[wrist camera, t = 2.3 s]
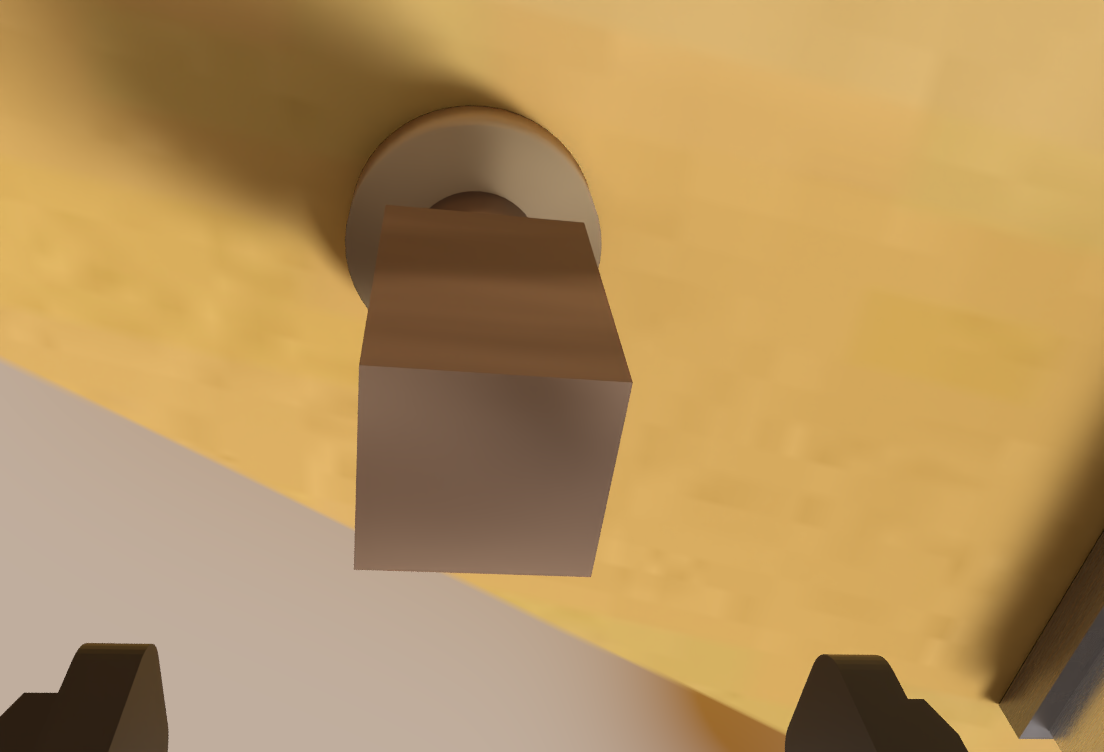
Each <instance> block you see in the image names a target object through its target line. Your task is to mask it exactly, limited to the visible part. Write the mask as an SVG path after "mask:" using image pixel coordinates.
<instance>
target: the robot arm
mask: <svg viewBox="0 0 1104 752" xmlns="http://www.w3.org/2000/svg"><path fill="white" fill-rule="evenodd" d="M0 752H168V723H167V716H166V708H165V701H164V694H163V686H162V679H161V672H160V664H159V657H158V652H157V648H156V647H155V645H154V644H114V643H86V644H83V645H82V646H81V647H80V648H79V649H78V651H77V652H76V654H75V656H74V658H73V660H72V662H71V665H70V667H69V669H68V671H67V674H66V676H65V678H64V681H63V683H62V686H61V687H60V690H59V692H58V693H23V694H22V696H21V697H20V698H18V699H17V700H16V701H15V702H14V703H13V704H12V706H10V707H9V708H8V709H7V710H6V711H5V712H4V713H3V714H2V715H1V716H0ZM785 752H968V751H967V749H966V747H965V745H964V744H963V742H962V740H961V738H960V736H959V735H958V733H957V732H956V731H955V730H954V729H953V728H952V727H951V726H950V725H949V724H948V723H947V722H946V721H945V720H944V719H943V718H942V717H941V716H940V715H939V714H938V713H937V712H936V711H935V710H934V709H933V708H932V707H931V706H930V705H929V704H928V703H927V702H926V701H925V700H924V699H908V698H907V697H906V695H905V693H904V691H903V689H902V687H901V685H900V683H899V681H898V679H897V677H896V675H895V673H894V671H893V670H892V668H891V666H890V665H889V663H888V662H887V661H886V660H885V659H884V658H883V657H881V656H879V655H829V654H823V655H820V656H819V657H818V658H817V659H816V660H815V662H814V664H813V667H812V669H811V672H810V674H809V677H808V679H807V682H806V684H805V687H804V689H803V692H802V694H801V697H800V699H799V702H798V704H797V707H796V709H795V712H794V714H793V717H792V719H791V722H790V724H789V727H788V730H787V733H786V741H785Z"/></svg>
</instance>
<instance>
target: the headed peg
mask: <svg viewBox="0 0 1104 752" xmlns="http://www.w3.org/2000/svg"><path fill="white" fill-rule="evenodd" d="M345 247H346V259H347V264H348V268H349V273H350V275H351V278H352V281H353V284H354V286H355V288H356V290H357V292H358V294H359V296H360V298H361V300H362V301H363V303H364V304H365V305H366V307H367V308H368V314H367V321H366V327H365V333H364V339H363V345H362V351H361V357H360V363H359V393H358V432H357V472H356V511H355V551H354V570H387V571H417V572H448V573H480V574H512V575H544V576H576V577H591V574H592V570H593V565H594V560H595V556H596V551H597V546H598V542H599V537H600V532H601V528H602V523H603V518H604V514H605V509H606V504H607V500H608V495H609V490H610V486H611V481H612V476H613V472H614V467H615V462H616V458H617V453H618V448H619V444H620V439H621V435H622V430H623V425H624V421H625V416H626V411H627V407H628V402H629V397H630V393H631V388H632V383H633V382H632V379H631V376H630V372H629V369H628V366H627V362H626V359H625V356H624V352H623V349H622V346H621V343H620V339H619V336H618V333H617V329H616V326H615V323H614V319H613V316H612V313H611V310H610V306H609V303H608V300H607V296H606V293H605V290H604V286H603V283H602V280H601V277H600V273H599V270H598V267H599V263H600V256H601V230H600V224H599V219H598V215H597V212H596V209H595V206H594V203H593V200H592V197H591V194H590V191H589V188H588V185H587V182H586V179H585V177H584V175H583V173H582V171H581V169H580V167H579V165H578V163H577V162H576V161H575V159H574V158H573V156H572V155H571V153H570V152H569V151H568V150H567V148H566V147H565V146H564V145H563V144H562V143H561V142H560V141H559V140H558V139H557V138H556V137H555V136H553V135H552V134H551V133H550V132H549V131H547V130H546V129H544V128H543V127H541V126H540V125H538V124H537V123H535V122H533V121H532V120H529V119H527V118H525V117H523V116H521V115H519V114H516V113H512V112H509V111H506V110H503V109H498V108H492V107H486V106H458V107H450V108H445V109H441V110H436V111H433V112H430V113H428V114H425V115H422V116H419V117H417V118H416V119H414V120H412V121H410V122H408V123H406V124H404V125H403V126H402V127H400V128H399V129H397V130H396V131H395V132H393V133H392V134H391V135H390V136H389V137H387V138H386V139H385V140H384V141H383V142H382V143H381V144H380V145H379V146H378V148H377V149H376V150H375V151H374V153H373V154H372V155H371V157H370V158H369V160H368V161H367V163H366V165H365V167H364V168H363V170H362V172H361V175H360V177H359V180H358V182H357V185H356V188H355V192H354V196H353V200H352V204H351V208H350V213H349V217H348V221H347V225H346V236H345Z"/></svg>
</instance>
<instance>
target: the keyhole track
mask: <svg viewBox="0 0 1104 752" xmlns="http://www.w3.org/2000/svg"><path fill="white" fill-rule="evenodd" d="M999 706H1000V708H1001V710H1002V711H1003V713H1004V715H1005V716H1006V718H1007V720H1008V721H1009V723H1010V725H1011V726H1012V728H1013V730H1014V731H1015V733H1016V735H1017V736H1018V738H1019V739H1054V740H1055V741H1056V743H1057V744H1058V746H1059V748H1060V749H1061V751H1062V752H1104V531H1103V533H1102V535H1101V536H1100V538H1099V539H1098V541H1097V543H1096V544H1095V546H1094V548H1093V549H1092V551H1091V553H1090V554H1089V556H1088V558H1087V559H1086V561H1085V563H1084V564H1083V566H1082V568H1081V569H1080V571H1079V573H1078V574H1077V576H1076V578H1075V579H1074V581H1073V583H1072V584H1071V586H1070V588H1069V589H1068V591H1067V593H1066V594H1065V596H1064V598H1063V599H1062V601H1061V603H1060V604H1059V606H1058V608H1057V609H1056V611H1055V613H1054V614H1053V616H1052V618H1051V619H1050V621H1049V623H1048V624H1047V626H1046V628H1045V629H1044V631H1043V633H1042V634H1041V636H1040V638H1039V639H1038V641H1037V642H1036V644H1035V646H1034V647H1033V649H1032V651H1031V652H1030V654H1029V656H1028V657H1027V659H1026V661H1025V662H1024V664H1023V666H1022V667H1021V669H1020V671H1019V672H1018V674H1017V676H1016V677H1015V679H1014V681H1013V682H1012V684H1011V686H1010V687H1009V689H1008V691H1007V692H1006V694H1005V696H1004V697H1003V699H1002V701H1001V702H1000V704H999Z"/></svg>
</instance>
